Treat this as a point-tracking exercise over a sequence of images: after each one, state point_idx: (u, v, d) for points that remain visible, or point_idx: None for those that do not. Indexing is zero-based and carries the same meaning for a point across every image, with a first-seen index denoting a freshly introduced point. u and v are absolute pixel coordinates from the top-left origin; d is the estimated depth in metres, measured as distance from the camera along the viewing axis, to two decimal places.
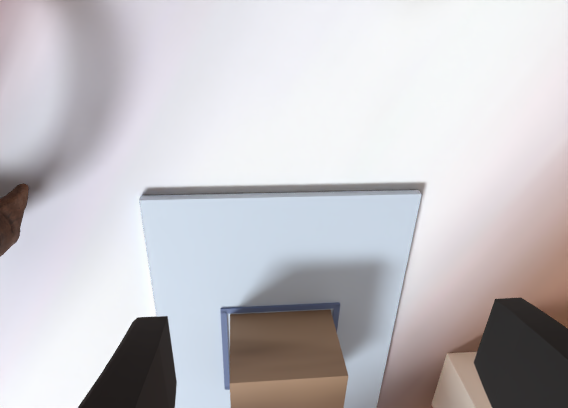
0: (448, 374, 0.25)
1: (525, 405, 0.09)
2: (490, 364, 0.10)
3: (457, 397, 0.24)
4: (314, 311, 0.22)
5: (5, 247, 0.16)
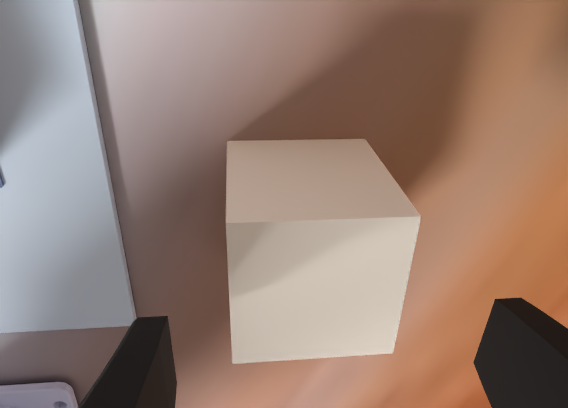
0: None
1: (525, 405, 0.09)
2: (490, 364, 0.10)
3: None
4: None
5: None
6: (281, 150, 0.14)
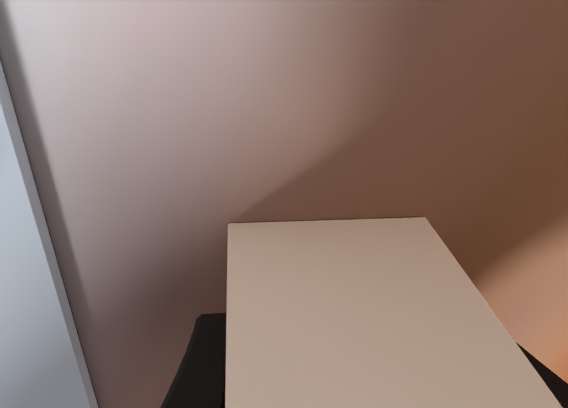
0: None
1: None
2: None
3: None
4: None
5: None
6: (308, 244, 0.09)
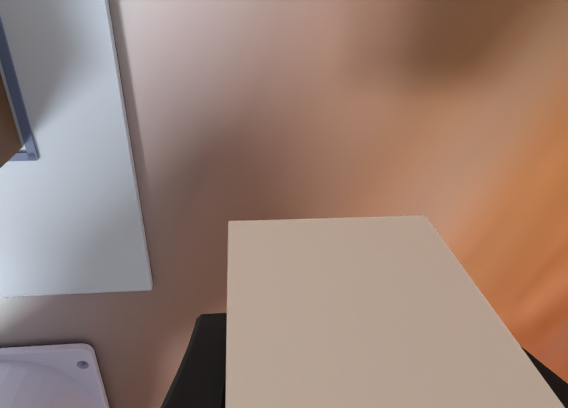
0: None
1: None
2: None
3: None
4: None
5: None
6: (308, 241, 0.09)
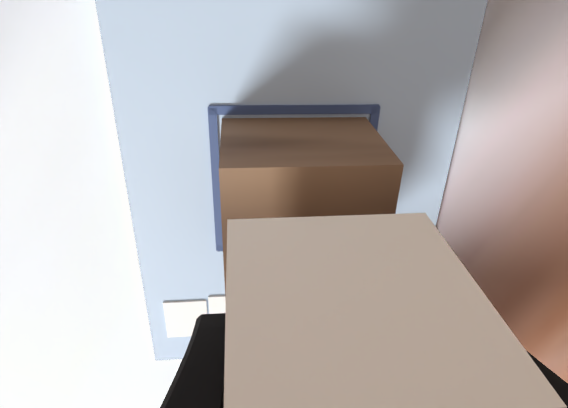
0: None
1: None
2: None
3: None
4: (342, 119, 0.16)
5: None
6: (308, 240, 0.09)
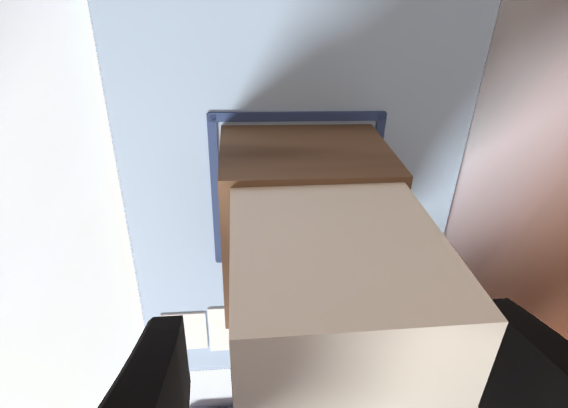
0: None
1: (510, 406, 0.09)
2: None
3: None
4: (347, 126, 0.15)
5: None
6: (300, 203, 0.10)
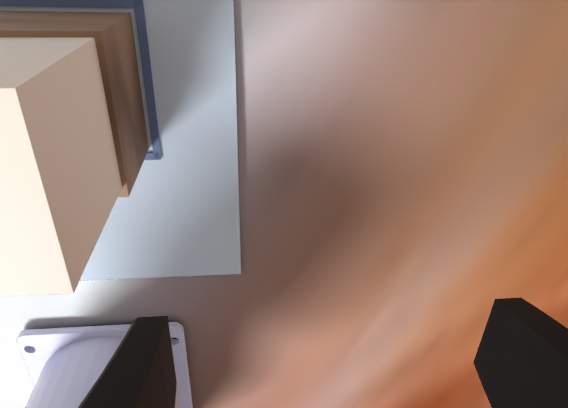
0: None
1: (525, 405, 0.09)
2: (490, 364, 0.10)
3: None
4: (107, 15, 0.15)
5: None
6: None
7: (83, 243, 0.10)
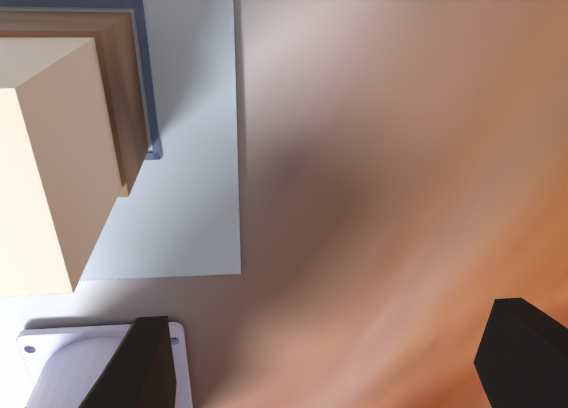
0: None
1: (525, 405, 0.09)
2: (490, 364, 0.10)
3: None
4: (107, 15, 0.15)
5: None
6: None
7: (83, 243, 0.10)
